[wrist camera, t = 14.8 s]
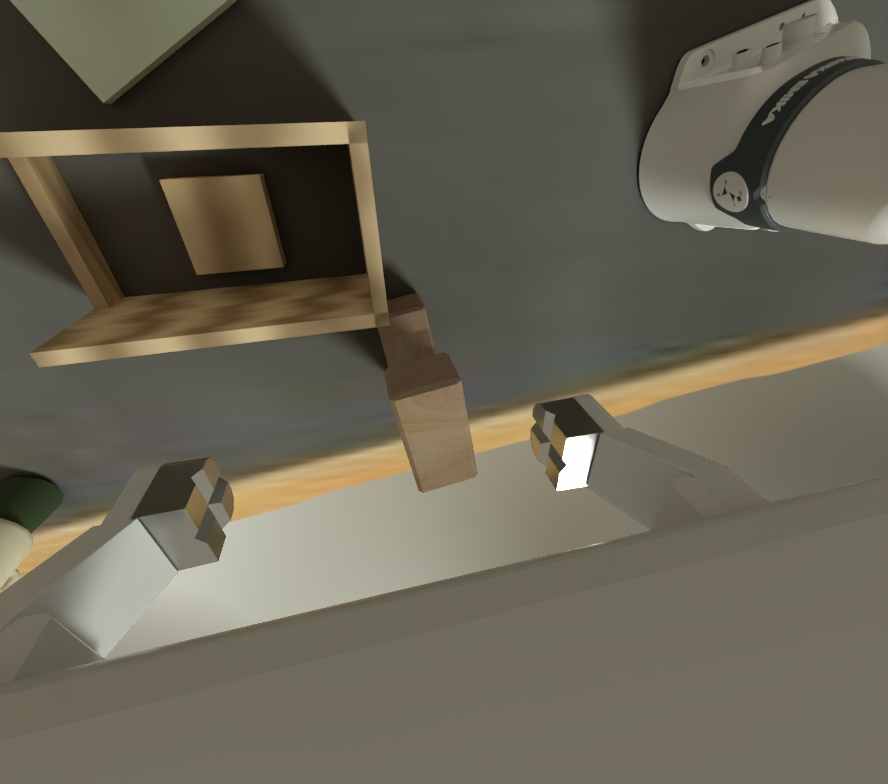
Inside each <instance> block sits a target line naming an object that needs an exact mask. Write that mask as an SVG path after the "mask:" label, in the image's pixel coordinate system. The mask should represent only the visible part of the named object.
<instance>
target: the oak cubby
mask: <svg viewBox="0 0 888 784" xmlns="http://www.w3.org/2000/svg"><path fill="white" fill-rule="evenodd" d="M332 144H348V148H349V155H350V162H351V169H352V176H353V183H354V189H355V196H356V203H357V210H358V217H359V223H360V230H361V237H362V244H363V251H364V258H365V264H366V271H367V274H360V275H350V276H340V277H329V278H319V279H308V280H298V281H288V282H277V283H267V284H256V285H246V286H236V287H225V288H215V289H204V290H194V291H184V292H173V293H163V294H153V295H142V296H132V297H124V295H123V293H122V291H121V289H120V287H119V285H118V283H117V282H116V280H115V278H114V276H113V274H112V272H111V270H110V268H109V266H108V264H107V262H106V260H105V258H104V257H103V255H102V253H101V251H100V249H99V247H98V245H97V243H96V241H95V239H94V237H93V235H92V234H91V232H90V230H89V228H88V226H87V224H86V222H85V220H84V218H83V216H82V214H81V212H80V211H79V209H78V207H77V205H76V203H75V201H74V199H73V197H72V195H71V193H70V191H69V189H68V187H67V186H66V184H65V182H64V180H63V178H62V176H61V174H60V172H59V170H58V168H57V166H56V164H55V163H54V161H53V159H52V157H51V156H61V155H86V154H110V153H135V152H160V151H184V150H209V149H234V148H258V147H283V146H308V145H332ZM0 158H8V159H9V161H10V163H11V165H12V166H13V168H14V170H15V171H16V173H17V175H18V177H19V178H20V180H21V182H22V184H23V185H24V187H25V189H26V191H27V192H28V194H29V196H30V197H31V199H32V201H33V203H34V204H35V206H36V208H37V210H38V211H39V213H40V215H41V217H42V218H43V220H44V222H45V223H46V225H47V227H48V229H49V230H50V232H51V234H52V236H53V237H54V239H55V241H56V243H57V244H58V246H59V248H60V250H61V251H62V253H63V255H64V256H65V258H66V260H67V262H68V263H69V265H70V267H71V269H72V270H73V272H74V274H75V276H76V277H77V279H78V281H79V282H80V284H81V286H82V288H83V289H84V291H85V293H86V295H87V296H88V298H89V300H90V302H91V303H92V305H93V307H94V308H95V310H93V311H92V312H90V313H89V314H87V315H86V316H84V317H83V318H81V319H80V320H78V321H77V322H75V323H74V324H72V325H71V326H69V327H68V328H66V329H65V330H63V331H62V332H60V333H59V334H57V335H56V336H54V337H53V338H51V339H50V340H48V341H47V342H45V343H44V344H42V345H41V346H39V347H38V348H36V349H35V350H33V351H32V352H30V353H29V354H30V355H31V357H32V358H33V359H34V361H35V362H36V363H37V365H38V366H39V367H48V366H56V365H64V364H73V363H81V362H89V361H98V360H106V359H115V358H123V357H131V356H140V355H148V354H156V353H165V352H173V351H182V350H190V349H198V348H207V347H215V346H223V345H232V344H240V343H249V342H257V341H265V340H274V339H282V338H290V337H299V336H307V335H316V334H324V333H332V332H341V331H349V330H357V329H366V328H374V327H383V326H390V323H389V315H388V307H387V299H386V290H385V282H384V274H383V266H382V258H381V249H380V241H379V233H378V225H377V217H376V209H375V200H374V192H373V184H372V176H371V168H370V159H369V151H368V143H367V135H366V127H365V121H351V122H319V123H287V124H255V125H223V126H190V127H158V128H126V129H94V130H62V131H30V132H0ZM159 181H160V183H161V186H162V188H163V191H164V193H165V196H166V199H167V201H168V204H169V206H170V209H171V211H172V214H173V216H174V219H175V221H176V224H177V226H178V229H179V231H180V234H181V236H182V239H183V241H184V244H185V246H186V249H187V251H188V254H189V256H190V259H191V261H192V264H193V266H194V269H195V271H196V274H197V275H203V274H214V273H225V272H236V271H247V270H258V269H269V268H280V267H284V266H285V264H286V259H285V255H284V251H283V247H282V243H281V240H280V236H279V232H278V228H277V224H276V220H275V217H274V213H273V209H272V205H271V201H270V197H269V194H268V190H267V186H266V182H265V178H264V174H263V173H257V174H237V175H218V176H198V177H179V178H166V179H161V180H159Z"/></svg>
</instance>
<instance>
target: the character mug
mask: <svg viewBox="0 0 888 784" xmlns="http://www.w3.org/2000/svg"><path fill="white" fill-rule="evenodd" d="M62 501H63V497H62V492H61V491H60V490H59V489H58V487H57V486H56V485H54V484H52V483H49V482H47V481H44V480H42V479H35V478H29V477H14V478H8V479H4V480H1V481H0V593H1V592H3V591H4V590H5V589H7V588H8V587H10V586H11V585H12V584H14V583H15V582H16V580H17V579H18V577H19V575H20V573H19V571H18V570H17V569H16V568H17V566H18V565H19V564H20V563H21V561H22V560H23V559H24V557H25V556H26V555H27V553H28V552H29V551H30V549H31V546H32V542H33V537H32V535H31V533H32V532H33V531H34V530H35V529H36V528H37V527H38V526H39V525H40V524H41V523H43V522H44V521H45V520H46V519H47V518H48V517H49V516H50V515H51V514H52V513H53V512H54V511H55V510H56V508H57V507H58V506H59V505H60V504H61V503H62Z"/></svg>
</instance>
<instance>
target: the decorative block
mask: <svg viewBox="0 0 888 784" xmlns="http://www.w3.org/2000/svg"><path fill="white" fill-rule="evenodd" d="M387 307H388V315H389V323H390V326H383V327H377V328H378V332H379V335H380V338H381V342H382V346H383V349H384V353H385V356H386V360H387V364H388V368H387V369H386V370H385V372H384V373H385V379H386V384H387V390H388V396H389V401H390V404H391V407H392V410H393V413H394V416H395V419H396V422H397V425H398V428H399V431H400V434H401V438H402V441H403V444H404V447H405V450H406V453H407V456H408V459H409V462H410V465H411V468H412V471H413V474H414V477H415V480H416V483H417V487H418V489H419V491H421V492H423V493H424V492H427V491H431V490H433V489H437V488H441V487H444V486H447V485H451V484H454V483H457V482H461V481H464V480H467V479H470V478H474V477H475V476H476V475H477V473H478V472H477V467H476V461H475V456H474V450H473V445H472V439H471V433H470V428H469V422H468V417H467V411H466V406H465V400H464V395H463V389H462V384H461V379H460V377H459V375H458V373H457V371H456V369H455V367H454V365H453V363H452V361H451V359H450V357H449V355H448V354H446V353H444V352H443V353H439V354H437V351H436V348H435V344H434V341H433V337H432V334H431V330H430V326H429V322H428V318H427V314H426V309H425V307H424V305H423V302H422V300H421V298H420V296H419V295H418V294H416V293H413V294H409V295H405V296H401V297H397V298H393V299H389V300H387Z"/></svg>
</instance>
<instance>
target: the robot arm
mask: <svg viewBox="0 0 888 784" xmlns="http://www.w3.org/2000/svg"><path fill="white" fill-rule="evenodd" d="M703 58H704V63H703V65H702V64H701V62H702V59H703ZM639 184H640V190H641V194H642V197H643V200H644V202H645V204H646V206H647V207H648V209H649V210H650V211H651V212H652V213H653V214H654V215H655V216H657V217H658V218H660V219H663V220H666V221H671V222H685V223H688V224H689V225H690V226H691V227H693V228H694V229H696V230H699V231H709V230H711V229H713V228H714V227H715V226H717V227H727V228H737V229H749V230H755V229H759V228H762V230H767V231H774V232H778V231H781V232H796V231H800V230H804V231H810V232H815V233H820V234H825V235H831V236H836V237H841V238H847V239H852V240H858V241H863V242H868V243H873V244H888V63H886V64H885V63H884V62H880V61H877V60H872V59H871V49H870V40H869V36H868V33H867V30H866V29H865V27H864V25H863V24H861V23H860V22H859V21H856V20H852V21H845V22H841V23H839V21H838V16H837V13H836V10H835V8H834V6H833V4H832V2H831V1H830V0H810V1H807V2H805V3H802V4H800V5H797V6H795V7H793V8H790V9H788V10H785V11H783V12H781V13H778V14H776V15H774V16H771V17H769V18H766V19H764V20H762V21H759V22H757V23H754V24H752V25H750V26H747V27H745V28H742V29H740V30H738V31H735V32H733V33H731V34H728V35H726V36H723V37H721V38H719V39H716V40H714V41H711V42H709V43H707V44H704V45H702V46H700V47H697V48H695V49H692V50H690V51H688V52H687V53H686V54H685V55H684V56H683V57H682V59H681V60H680V62H679V64H678V67H677V70H676V73H675V75H674V79H673V82H672V86H671V89H670V93H669V95H668V97H667V99H666V101H665V103H664V104H663V106H662V108H661V109H660V111H659V113H658V114H657V116H656V118H655V119H654V121H653V123H652V125H651V127H650V130H649V132H648V134H647V137H646V140H645V143H644V146H643V150H642V154H641V159H640V166H639ZM533 417H534V419H535V420H536V423H535V424H534V426H533V427H532V428H531V434H530V440H531V446H532V450H533V452H534V455H535V457H536V458H537V460H538V461H539V462H541V463H543V464H544V465H546V474H547V476H548V478H549V479H550V481H551V483H552V484H553V486H554V488H555V489H556V491H560V490H566V489H571V488H577V487H583V486H587V488H589V489H590V490H591V491H593V492H594V493H596V494H597V495H599V496H600V497H602V498H604V499H605V500H606V501H608V502H610V503H611V504H612V505H614V506H615V507H617V508H618V509H620V510H622V511H623V512H625V513H626V514H627V515H629V516H630V517H632V518H634V519H635V520H637V521H638V522H640V523H641V524H643V525H644V526H646V527H647V528H649V529H650V531H648V532H644V533H640V534H635V535H631V536H627V537H623V538H619V539H614V540H610V541H606V542H602V543H597V544H593V545H589V546H585V547H580V548H577V549H572V550H567V551H563V552H559V553H555V554H551V555H546V556H542V557H538V558H534V559H530V560H526V561H521V562H517V563H513V564H509V565H504V566H500V567H496V568H492V569H488V570H483V571H479V572H475V573H471V574H467V575H463V576H458V577H454V578H450V579H445V580H441V581H437V582H433V583H428V584H424V585H420V586H415V587H411V588H407V589H403V590H398V591H395V592H390V593H386V594H381V595H377V596H373V597H369V598H365V599H360V600H356V601H352V602H348V603H343V604H339V605H335V606H331V607H326V608H322V609H318V610H314V611H310V612H306V613H301V614H297V615H292V616H288V617H284V618H280V619H276V620H271V621H268V622H263V623H259V624H254V625H250V626H246V627H242V628H237V629H233V630H229V631H225V632H220V633H216V634H212V635H208V636H203V637H200V638H195V639H191V640H187V641H182V642H178V643H174V644H170V645H166V646H161V647H157V648H153V649H149V650H144V651H140V652H136V653H131V654H127V655H123V656H119V657H115V658H110V659H104V658H105V657H106V656H107V654H108V653H109V652H110V651H111V650H112V649H113V648H114V646H115V645H116V644H117V643H118V642H119V641H120V639H121V638H122V637H123V636H124V635H125V634H126V632H127V631H128V630H129V629H130V628H131V627H132V626H133V624H134V623H135V622H136V621H137V620H138V619H139V617H140V616H141V615H142V614H143V613H144V612H145V610H146V609H147V608H148V607H149V606H150V605H151V603H152V602H153V601H154V600H155V599H156V598H157V597H158V595H159V594H160V593H161V592H162V591H163V589H164V588H165V587H166V586H167V585H168V584H169V583H170V581H171V580H172V579H173V578H174V577H175V576H176V574H177V573H178V572H177V571H179V570H183V569H187V568H192V567H196V566H200V565H204V564H208V563H213V562H217V561H219V557H220V554H221V551H222V547H223V544H224V541H225V538H226V535H225V533H224V532H223V530H222V528H223V527H224V526H225V525H226V524H227V523H228V522H229V521H230V520H231V517H232V514H233V509H234V498H233V494H232V490H231V487H230V485H229V483H228V482H227V481H225V480H223V479H221V478H219V474H220V471H221V468H220V466H219V464H218V462H217V461H216V459H214V458H211V457H209V458H202V459H195V460H188V461H181V462H174V463H167V464H164V465H156V466H149V467H143V468H140V469H139V470H137V471H135V473H134V474H133V476H132V477H131V479H130V480H129V482H128V483H127V485H126V487H125V488H124V490H123V491H122V493H121V494H120V496H119V497H118V499H117V501H116V502H115V504H114V505H113V507H112V508H111V510H110V512H109V513H108V515H107V516H106V518H105V519H104V521H103V522H102V524H101V525H99V526H94V527H92V528H90V529H89V530H87V531H86V532H85V533H83V534H82V535H80V536H79V537H78V538H76V539H75V540H73V541H72V542H71V543H69V544H68V545H67V546H65V547H64V548H62V549H61V550H60V551H58V552H57V553H55V554H54V555H53V556H51V557H50V558H49V559H47V560H46V561H44V562H43V563H42V564H40V565H39V566H37V567H36V568H35V569H33V570H32V571H30V572H29V573H28V574H26V575H25V576H24V577H22V578H21V579H19V580H18V581H17V582H15V583H14V584H12V585H11V586H10V587H8V588H7V589H5V590H4V591H3V592H1V593H0V784H888V475H885V476H881V477H877V478H872V479H868V480H864V481H860V482H855V483H852V484H847V485H843V486H839V487H835V488H830V489H826V490H822V491H818V492H814V493H810V494H805V495H801V496H797V497H792V498H788V499H784V500H780V501H776V502H772V503H770V502H769V501H768V500H766V499H765V498H764V497H763V496H761V494H759V493H758V492H757V491H756V490H754V489H753V488H752V487H751V486H750V485H749V484H747V483H746V482H745V481H744V480H743V479H741V478H740V477H739V476H738V475H737V474H736V473H734V472H733V471H732V470H731V469H730V468H728V467H727V466H725V465H723V464H720V463H718V462H715V461H713V460H710V459H707V458H705V457H702V456H700V455H697V454H694V453H692V452H690V451H687V450H685V449H682V448H679V447H677V446H674V445H672V444H669V443H667V442H664V441H662V440H659V439H656V438H654V437H651V436H649V435H646V434H644V433H641V432H638V431H636V430H633V429H631V428H626V429H624V428H623V427H622V426H621V425H620V424H619V423H618V422H617V421H616V420H615V419H614V418H613V417H612V416H611V415H610V414H609V413H608V412H607V411H606V410H605V409H604V408H603V407H602V406H601V405H600V404H599V403H598V402H597V401H596V400H595V399H594V398H593V397H592V396H591V395H588V394H585V395H580V396H575V397H570V398H567V399H561V400H555V401H549V402H543V403H537V404H535V406H534V408H533Z"/></svg>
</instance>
